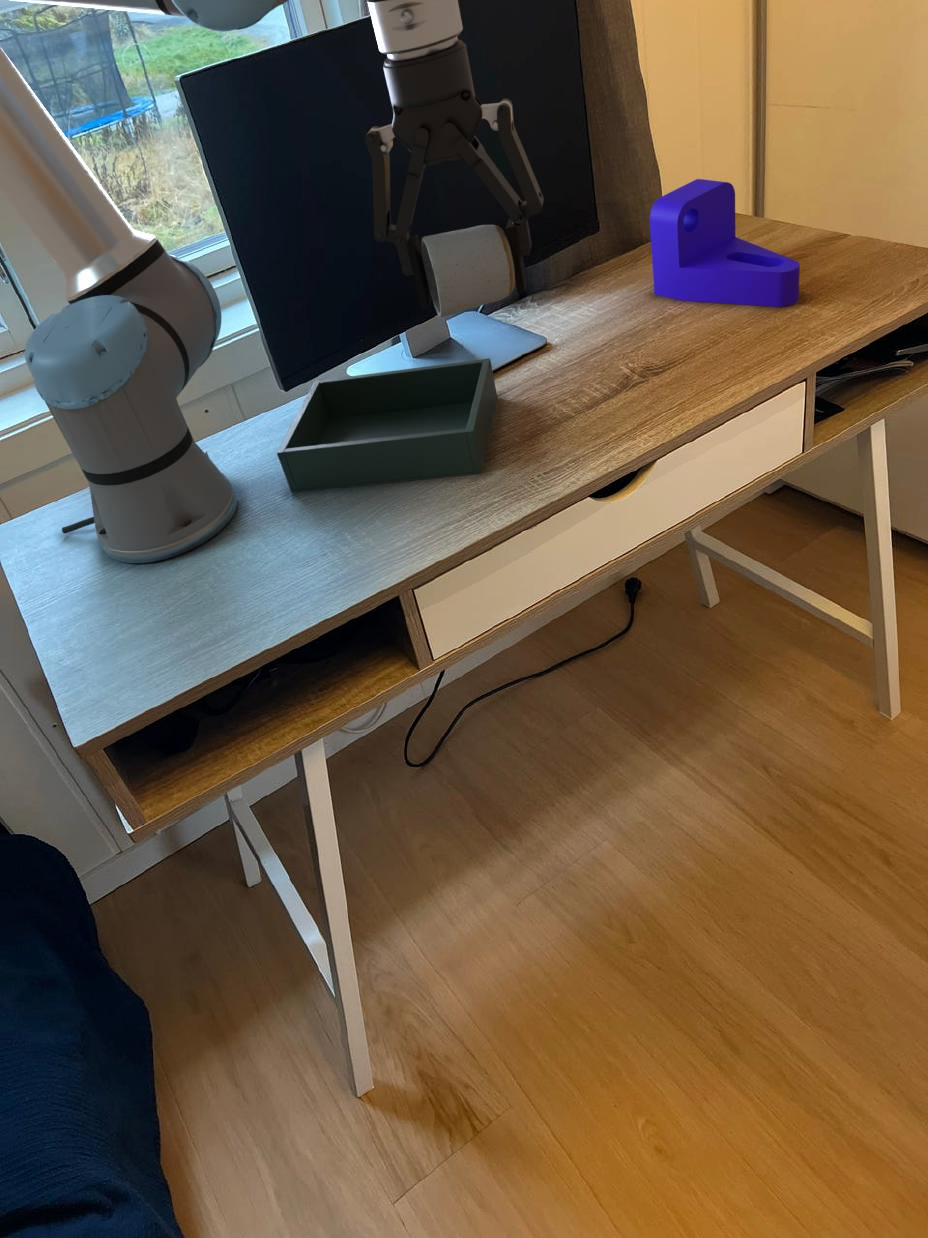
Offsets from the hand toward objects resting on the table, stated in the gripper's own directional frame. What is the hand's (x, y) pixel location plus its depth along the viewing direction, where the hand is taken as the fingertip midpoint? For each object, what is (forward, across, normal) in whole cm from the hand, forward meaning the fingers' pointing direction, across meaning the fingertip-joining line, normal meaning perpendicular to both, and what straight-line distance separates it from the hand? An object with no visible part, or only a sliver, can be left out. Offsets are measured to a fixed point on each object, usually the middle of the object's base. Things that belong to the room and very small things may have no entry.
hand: (474, 295), depth 95 cm
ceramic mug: (+1, -1, 0) cm, 1 cm away
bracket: (+16, +28, +29) cm, 43 cm away
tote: (+15, -12, -2) cm, 19 cm away
